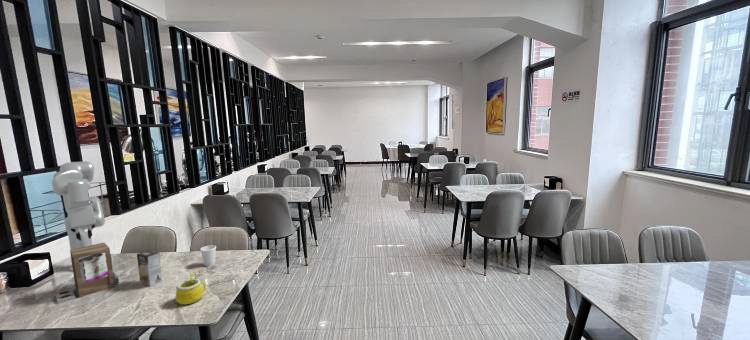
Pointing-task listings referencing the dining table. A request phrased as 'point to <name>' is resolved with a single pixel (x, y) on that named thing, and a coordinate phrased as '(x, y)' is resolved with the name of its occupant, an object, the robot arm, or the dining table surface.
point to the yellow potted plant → (190, 290)
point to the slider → (113, 277)
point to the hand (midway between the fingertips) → (84, 238)
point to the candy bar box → (93, 267)
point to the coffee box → (149, 267)
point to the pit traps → (64, 296)
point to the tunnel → (94, 284)
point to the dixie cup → (208, 255)
